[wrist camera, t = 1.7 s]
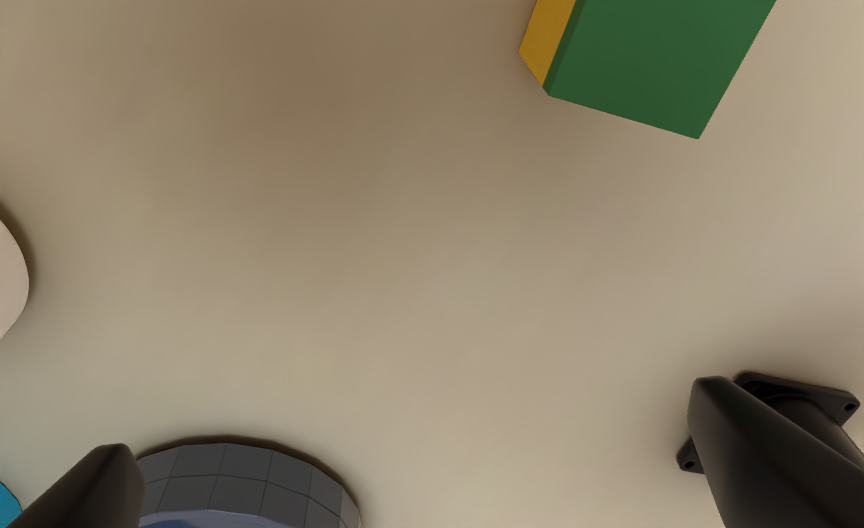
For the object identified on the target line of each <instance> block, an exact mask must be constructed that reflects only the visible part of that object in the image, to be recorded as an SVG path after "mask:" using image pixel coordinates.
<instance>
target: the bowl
mask: <svg viewBox="0 0 864 528" xmlns="http://www.w3.org/2000/svg"><path fill="white" fill-rule="evenodd" d="M137 463H138V465H139V466H140V468H141V470H142V472H143V473H144V476H145V479H146V492H145V497H144V502H143V507H142V512H141V517H140V521H139V526H138V528H361V521H360V515H359V510H358V508H357V507H356V505H355V504H354V502H353V501H352V500H351V498H350V497H349V495H348V494H347V492H346V491H345V490H344V488H343V487H342V486H341V485H340V484H339V483H337V482H336V481H334V480H333V479H332V478H330V477H329V476H327V475H326V474H325V473H323V472H322V471H320V470H319V469H318V468H316V467H315V466H312V464H309V463H306V462H304V461H301V460H298V459H296V458H293V457H290V456H288V455H285V454H283V453H280V452H277V451H275V450H272V449H265V448H258V447H252V446H245V445H239V444H232V443H228V444H227V443H215V444H198V445H182V446H179V447H175V448H172V449H168V450H165V451H162V452H158V453H155V454H152V455H148V456H145V457H143V458H140V459H139V460H137Z"/></svg>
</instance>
